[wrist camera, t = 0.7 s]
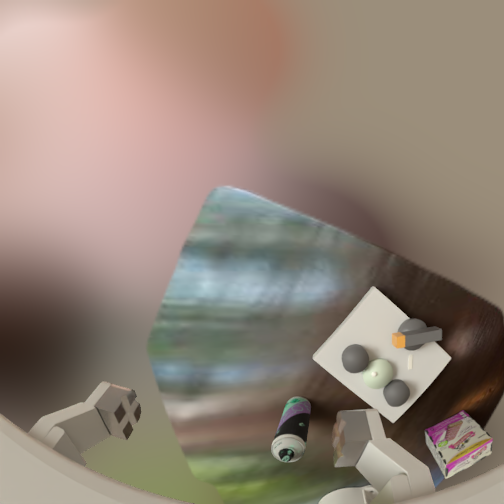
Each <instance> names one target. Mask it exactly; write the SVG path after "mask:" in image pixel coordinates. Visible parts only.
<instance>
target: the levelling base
mask: <svg viewBox="0 0 504 504" xmlns="http://www.w3.org/2000/svg"><path fill="white" fill-rule="evenodd" d="M407 319H410V318H409V317H408V316H407V315H406V314H405V313H403V312H402V311H401V310H400V309H399V308H398V307H397V306H396V305H395V304H393V303H392V302H391V301H390V300H389V299H388V298H387V297H386V296H384V295H383V294H382V293H381V292H380V291H379V290H378V289H376V288H375V287H371V288H370V290H369V291H368V292H367V293H366V295H365V296H364V297H363V298H362V300H361V301H360V302H359V303H358V305H357V306H356V307H355V308H354V309H353V311H352V312H351V313H350V314H349V315H348V317H347V318H346V319H345V320H344V321H343V322H342V324H341V325H340V326H339V327H338V328H337V329H336V330H335V332H334V333H333V334H332V335H331V336H330V337H329V338H328V339H327V341H326V342H325V343H324V344H323V345H322V346H321V347H320V348H319V349H318V350H317V351H316V352H315V354H314V355H313V360H315V361H316V362H317V363H318V364H319V365H321V366H322V367H323V368H324V369H326V370H327V371H328V372H329V373H330V374H332V375H333V376H334V377H335V378H337V379H338V380H339V381H340V382H341V383H343V384H344V385H345V386H346V387H348V388H349V389H350V390H351V391H353V392H354V393H355V394H356V395H358V396H359V397H360V398H361V399H363V400H364V401H365V402H367V403H368V404H369V405H370V406H372V407H373V408H374V409H375V408H376V409H377V410H378V412H379V413H381V414H382V415H383V416H385V417H386V418H387V419H388V420H390V421H391V422H392V423H394V422H395V421H396V420H397V419H398V418H399V417H400V416H401V415H402V414H403V413H404V412H405V411H406V410H407V409H408V408H409V407H410V406H411V405H412V404H413V403H414V402H415V401H416V400H417V399H418V398H419V396H420V395H421V394H422V393H423V392H424V391H425V390H426V389H427V388H428V386H429V385H430V384H431V383H432V382H433V381H434V379H435V378H436V377H437V376H438V375H439V373H440V372H441V371H442V370H443V368H444V367H445V366H446V365H447V363H448V362H449V361H450V360H451V357H450V356H449V355H448V354H447V353H446V352H445V351H444V350H443V349H442V348H441V347H440V346H439V345H438V344H437V343H436V342H435V341H434V342H429V343H424V345H423V346H422V347H421V348H419V349H417V350H414V351H410V350H407V349H405V348H398V349H397V348H396V347H394V346H393V345H392V333H397V332H398V329H399V327H400V325H401V324H402V323H403V322H404V321H405V320H407Z"/></svg>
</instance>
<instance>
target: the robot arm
mask: <svg viewBox="0 0 504 504" xmlns="http://www.w3.org/2000/svg"><path fill="white" fill-rule="evenodd" d="M136 397H137V396H136V393H135V391H134V390H131V389H128V388H124V387H121V386H118V385H114V384H111V383H108V382H105V381H104V382H101V383H100V384H99V386H98V387H97V388H96V389H95V390H94V392H93V393H92V394H91V396H90V397H89V398H88V399H87V400H86V402H85V403H82V402H81V403H78V404H76V405H73V406H71V407H68V408H65V409H63V410H60V411H57V412H54V413H52V414H49V415H46V416H43V417H42V418H40V420H39V421H38V422H37V423H36V424H35V425H34V427H33V428H32V429H31V430H30V431H29V433H26V432H25V431H23V430H22V429H20V428H19V427H18V426H16V425H15V424H14V423H12V422H11V421H10V420H8V419H7V418H6V417H4V416H3V415H2V414H0V504H194V503H189V502H185V501H180V500H176V499H173V498H168V497H165V496H162V495H158V494H155V493H151V492H148V491H145V490H142V489H139V488H136V487H133V486H130V485H128V484H125V483H122V482H120V481H117V480H115V479H112V478H110V477H107V476H105V475H102V474H100V473H98V472H96V471H94V470H92V469H89V468H87V467H85V465H86V461H85V460H84V458H83V457H82V456H81V453H83V452H84V451H86V450H88V449H90V448H91V447H93V446H95V445H96V444H98V443H99V442H101V441H103V440H105V439H106V438H108V437H109V436H110V435H112V436H115V437H118V438H121V439H125V440H127V439H128V438H129V436H130V434H131V433H132V431H133V428H132V425H134V424H136V423H137V422H138V420H139V418H140V414H141V407H140V404H139V403H138V402H137V401H136V400H135V398H136ZM336 418H337V423H335V424H334V427H333V432H332V445H333V446H334V447H335V451H334V454H333V456H334V466H335V467H345V466H356V468H357V469H358V470H359V471H360V472H361V474H362V475H363V476H364V477H365V478H366V479H367V480H368V481H369V482H370V484H371V485H368V486H364V487H359V488H343V489H339V490H336V491H333V492H331V493H329V494H327V495H326V496H324V497H323V498H322V499H321V500H320V502H319V503H318V504H504V463H503V464H500V465H498V466H497V467H495V468H493V469H491V470H489V471H487V472H485V473H483V474H480V475H478V476H476V477H474V478H471V479H469V480H466V481H464V482H462V483H459V484H456V485H454V486H451V487H448V488H446V489H443V490H440V491H437V492H436V490H435V487H434V483H433V480H432V477H431V474H430V471H429V468H428V467H427V466H426V465H424V464H423V463H422V462H420V461H419V460H418V459H416V458H415V457H414V456H412V455H411V454H410V453H408V452H407V451H406V450H404V449H403V448H402V447H401V446H399V445H398V444H397V443H395V442H394V441H393V440H392V439H390V438H386V436H385V433H384V429H383V426H382V422H381V419H380V416H379V412H378V410H377V409H376V408H375V409H364V410H363V409H362V410H349V411H339V412H338V414H337V417H336Z"/></svg>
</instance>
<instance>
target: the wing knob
mask: <svg viewBox="0 0 504 504" xmlns="http://www.w3.org/2000/svg"><path fill="white" fill-rule="evenodd" d="M439 340H442V329H440V328H438V327H435V326H434V327H428V328H427V326H426V324H425V323H424V322H423V321H421V320H419V319H416V318H410V319H407V320H405V321H404V322H403V323H402V324H401V325H400V327H399V329H398V332H397V333H392V345H393V346H394V347H396V348H397V349H398V348H405V349H407V350H410V351H414V350H417V349H419V348H421V347H422V346H423V345H424V343H429V342H434V341H439Z"/></svg>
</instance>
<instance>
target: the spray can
mask: <svg viewBox="0 0 504 504" xmlns="http://www.w3.org/2000/svg"><path fill="white" fill-rule="evenodd" d="M310 411H311V405H310V402H309V401H308V400H307V399H305V398H303V397H293V398H291V399H290V400H289V401H288V402H287V403H286V406H285V409H284V412H283V415H282V418H281V421H280V423H279V426H278V429H277V432H276V435H275V438H274V440H273V443H272V448H271V451H272V454H273V456H274V457H275V458H276V459H278V460H280V461H283V462H294V461H297V460H298V459H300V458H301V457H302V456H303V454H304V452H305V447H306V441H307V434H308V427H309V419H310Z"/></svg>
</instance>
